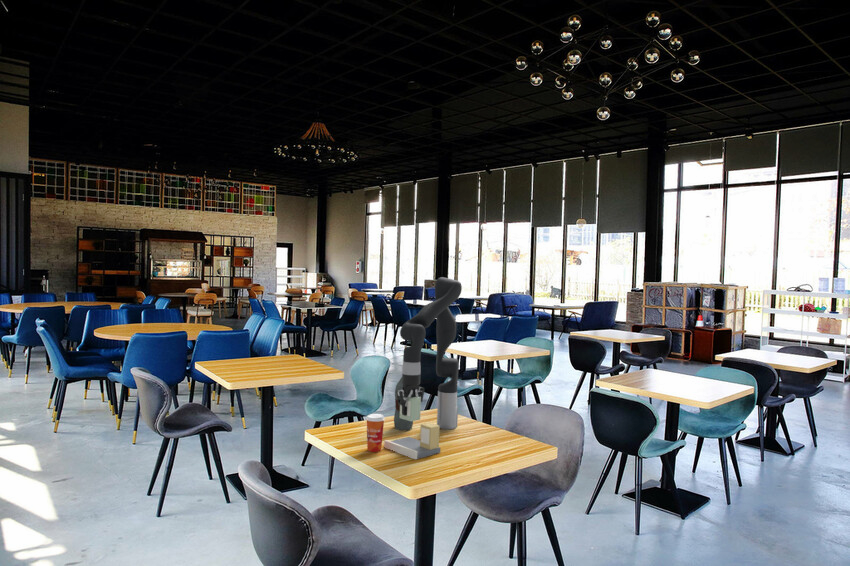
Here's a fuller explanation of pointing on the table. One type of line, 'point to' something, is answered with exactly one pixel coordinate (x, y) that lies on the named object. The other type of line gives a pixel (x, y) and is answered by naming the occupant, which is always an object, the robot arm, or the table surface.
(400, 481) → the table surface
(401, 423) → the bottle
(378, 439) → the paper cup
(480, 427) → the table surface
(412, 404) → the tea box
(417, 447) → the display board
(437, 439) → the mustard box
